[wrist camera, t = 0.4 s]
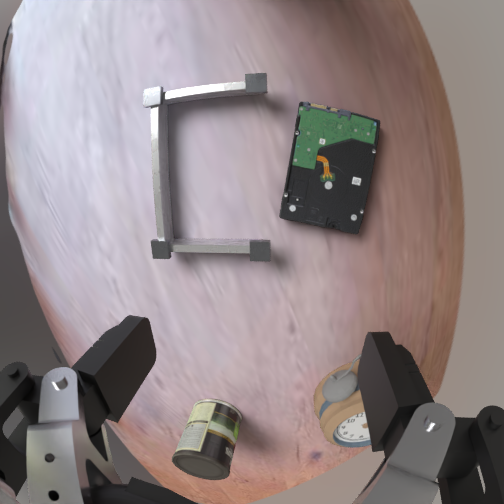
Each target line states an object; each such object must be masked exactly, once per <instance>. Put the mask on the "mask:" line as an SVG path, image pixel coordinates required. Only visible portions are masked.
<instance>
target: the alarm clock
mask: <svg viewBox="0 0 504 504" xmlns="http://www.w3.org/2000/svg"><path fill="white" fill-rule="evenodd" d="M360 357H361V354H360V355H358V356H357V357H356V358H355V359H354V360H353V362H351V363H349V364H346V365H343V366H341V367H339V368H337V369H336V370H334V371H332V372H331V373H329V374H328V375H327V376H326V377H325V378H324V379H323V380H322V381H321V382H320V384H319V385H318V386H317V388H316V390H315V394H314V410H315V414H316V416H317V417H318V419H319V420H320V428H321V429H322V431H323V433H324V436H325V438H326V439H327V441H329V442H330V443H332V444H334V445H337V446H340V447H363V446H368V445H371V440H370V435H369V430H368V425H367V420H366V415H365V410H364V406H363V401H362V397H361V392H360V388H359V384H358V378H357V372H358V365H359V361H360V360H359V361H357V360H358V359H359V358H360Z"/></svg>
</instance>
